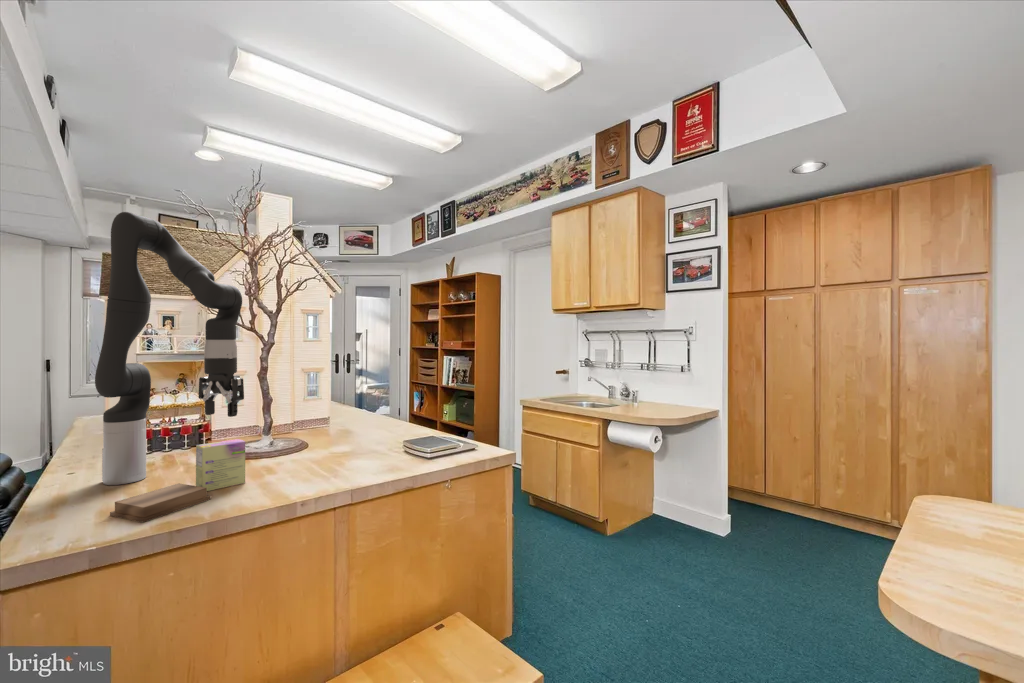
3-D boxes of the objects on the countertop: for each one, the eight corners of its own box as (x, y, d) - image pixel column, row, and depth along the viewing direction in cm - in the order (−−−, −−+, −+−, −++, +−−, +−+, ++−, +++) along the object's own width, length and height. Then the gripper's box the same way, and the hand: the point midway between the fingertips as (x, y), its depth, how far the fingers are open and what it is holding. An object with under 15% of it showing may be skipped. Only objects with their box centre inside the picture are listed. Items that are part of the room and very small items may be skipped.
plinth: (110, 515, 100) (110, 502, 100) (180, 494, 115) (180, 482, 115) (142, 522, 97) (142, 508, 97) (210, 499, 111) (210, 487, 111)
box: (238, 479, 127) (238, 438, 127) (245, 483, 124) (245, 441, 124) (195, 488, 119) (195, 444, 119) (202, 493, 116) (202, 447, 116)
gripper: (188, 356, 120) (189, 416, 120) (226, 357, 115) (226, 419, 115) (215, 355, 127) (215, 412, 127) (252, 356, 123) (252, 414, 123)
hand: (221, 415), depth 121 cm, fingers open, 8 cm apart
